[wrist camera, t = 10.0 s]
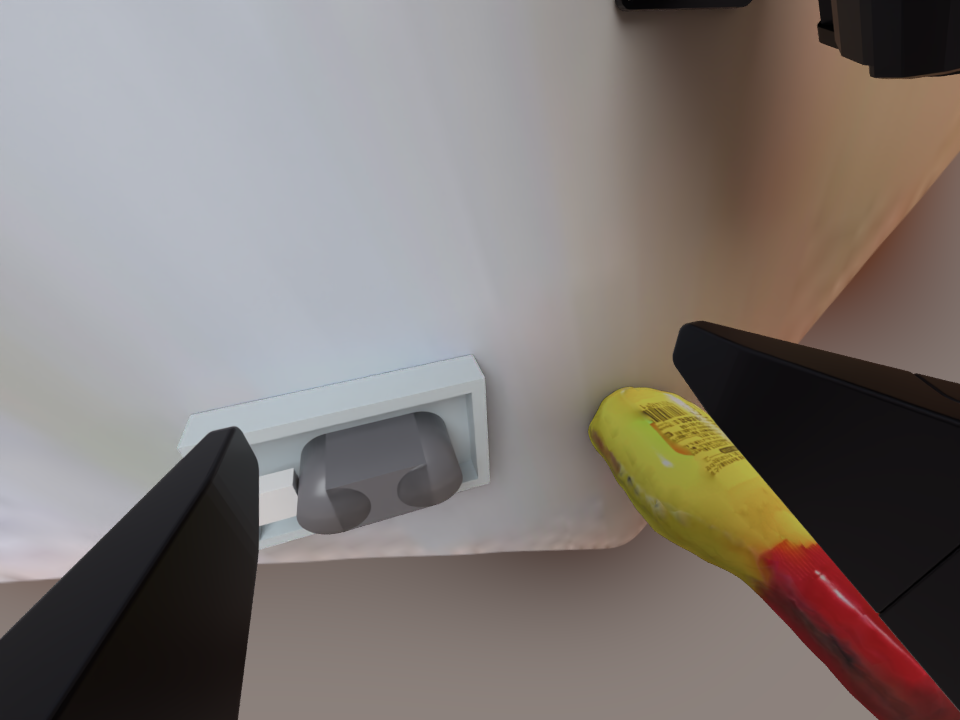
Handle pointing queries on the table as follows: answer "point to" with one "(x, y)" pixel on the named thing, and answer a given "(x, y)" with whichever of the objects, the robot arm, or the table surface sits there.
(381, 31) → the table surface
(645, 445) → the bottle
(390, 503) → the plug
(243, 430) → the dock tray
